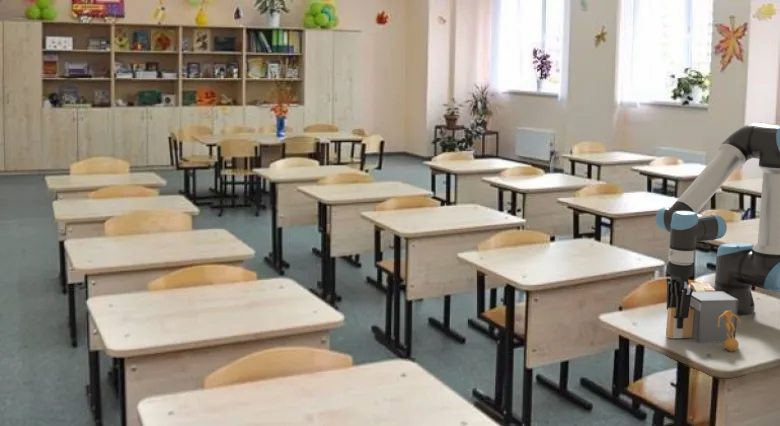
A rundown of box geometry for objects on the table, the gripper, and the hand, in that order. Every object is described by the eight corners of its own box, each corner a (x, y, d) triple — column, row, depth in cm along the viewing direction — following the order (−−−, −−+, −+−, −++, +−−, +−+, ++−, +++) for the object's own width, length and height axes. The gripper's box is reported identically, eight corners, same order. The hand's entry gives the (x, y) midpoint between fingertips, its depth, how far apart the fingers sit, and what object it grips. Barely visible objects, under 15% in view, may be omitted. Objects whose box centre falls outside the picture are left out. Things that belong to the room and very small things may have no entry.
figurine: (723, 354, 247) (726, 314, 245) (710, 347, 253) (713, 308, 251) (747, 351, 250) (750, 312, 248) (733, 345, 255) (737, 307, 253)
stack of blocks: (682, 309, 291) (685, 275, 289) (701, 310, 290) (704, 276, 288) (694, 329, 271) (697, 291, 268) (714, 330, 270) (717, 293, 267)
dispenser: (718, 331, 268) (722, 291, 266) (734, 341, 259) (738, 300, 256) (681, 332, 267) (684, 291, 265) (696, 342, 257) (699, 300, 255)
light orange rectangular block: (708, 334, 264) (711, 306, 262) (712, 337, 262) (714, 309, 260) (665, 335, 262) (667, 307, 261) (669, 338, 260) (671, 309, 258)
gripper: (658, 256, 264) (653, 328, 269) (680, 268, 249) (674, 344, 254) (681, 256, 265) (675, 327, 270) (704, 268, 250) (698, 344, 254)
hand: (675, 335), depth 262 cm, fingers closed on light orange rectangular block, 2 cm apart
